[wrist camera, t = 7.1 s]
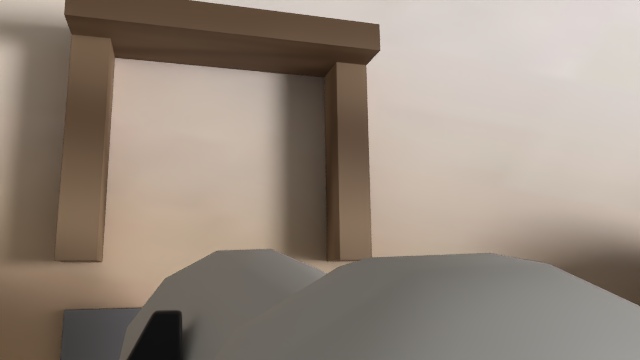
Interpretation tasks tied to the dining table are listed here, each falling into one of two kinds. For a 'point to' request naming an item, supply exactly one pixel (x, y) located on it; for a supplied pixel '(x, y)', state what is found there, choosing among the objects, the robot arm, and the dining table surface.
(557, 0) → the dining table surface
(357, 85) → the frame
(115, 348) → the charcoal mat
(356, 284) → the salt shaker
